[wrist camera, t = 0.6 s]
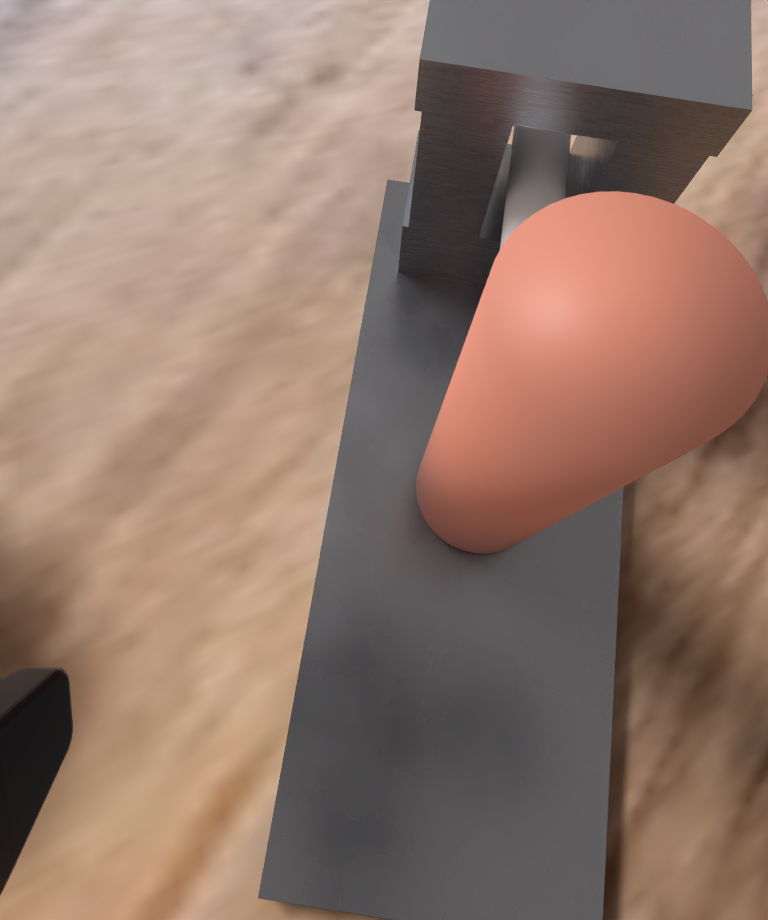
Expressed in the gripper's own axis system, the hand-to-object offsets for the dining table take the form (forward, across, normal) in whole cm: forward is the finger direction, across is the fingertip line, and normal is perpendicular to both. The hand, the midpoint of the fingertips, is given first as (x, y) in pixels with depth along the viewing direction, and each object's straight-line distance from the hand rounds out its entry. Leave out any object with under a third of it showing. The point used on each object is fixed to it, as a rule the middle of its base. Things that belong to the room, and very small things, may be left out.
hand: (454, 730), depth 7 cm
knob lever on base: (+17, -3, -3) cm, 17 cm away
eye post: (+15, -2, +3) cm, 15 cm away
